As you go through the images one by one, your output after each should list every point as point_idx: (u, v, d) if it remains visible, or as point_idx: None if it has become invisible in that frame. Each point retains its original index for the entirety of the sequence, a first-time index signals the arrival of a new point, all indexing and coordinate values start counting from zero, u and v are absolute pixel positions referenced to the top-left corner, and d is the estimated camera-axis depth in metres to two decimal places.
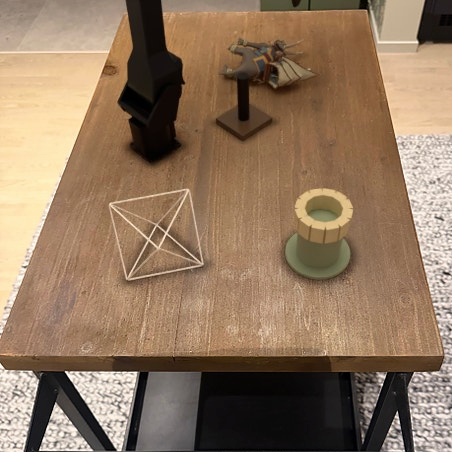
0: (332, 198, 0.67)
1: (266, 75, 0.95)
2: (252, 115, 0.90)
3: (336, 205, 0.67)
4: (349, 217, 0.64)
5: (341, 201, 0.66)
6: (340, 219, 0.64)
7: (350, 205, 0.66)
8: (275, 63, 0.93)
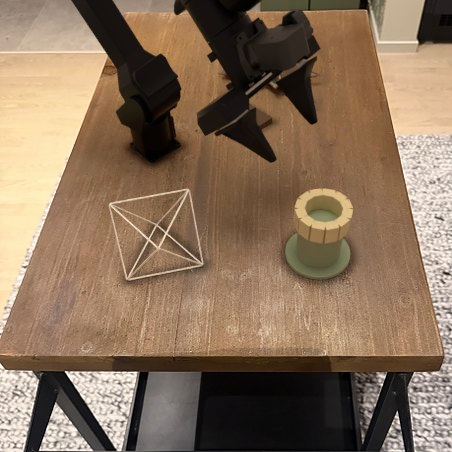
0: (332, 198, 0.67)
1: None
2: None
3: (336, 205, 0.67)
4: (349, 217, 0.64)
5: (341, 201, 0.66)
6: (340, 219, 0.64)
7: (350, 205, 0.66)
8: None
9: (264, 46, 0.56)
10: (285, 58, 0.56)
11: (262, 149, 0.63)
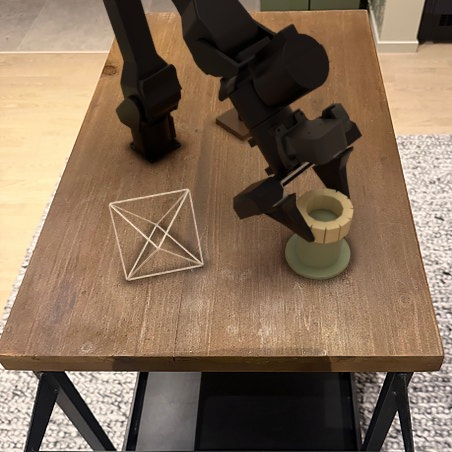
0: (332, 198, 0.67)
1: None
2: None
3: (336, 205, 0.67)
4: (349, 217, 0.64)
5: (342, 201, 0.66)
6: (340, 219, 0.64)
7: (350, 205, 0.66)
8: None
9: (301, 141, 0.57)
10: (320, 153, 0.57)
11: (301, 230, 0.64)
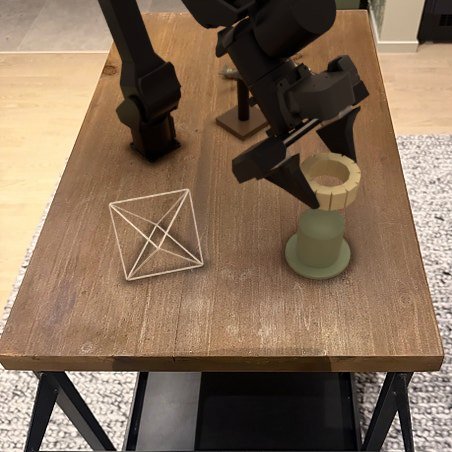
0: (338, 163, 0.62)
1: None
2: (252, 115, 0.90)
3: (342, 170, 0.63)
4: (357, 181, 0.60)
5: (348, 166, 0.62)
6: (347, 184, 0.60)
7: (358, 169, 0.61)
8: None
9: (305, 94, 0.53)
10: (326, 107, 0.52)
11: (304, 195, 0.60)
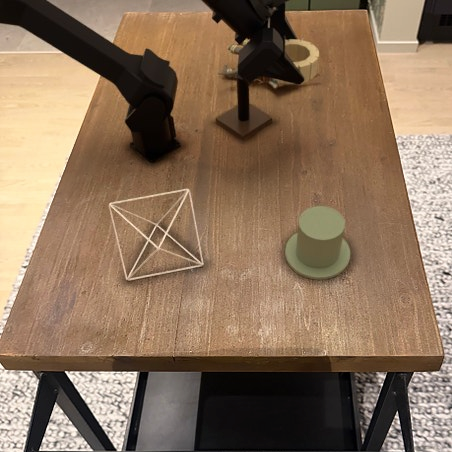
0: (289, 46, 0.75)
1: None
2: (252, 115, 0.90)
3: (295, 50, 0.75)
4: (316, 49, 0.74)
5: (299, 43, 0.75)
6: (312, 53, 0.73)
7: (308, 42, 0.75)
8: None
9: None
10: None
11: (293, 73, 0.71)
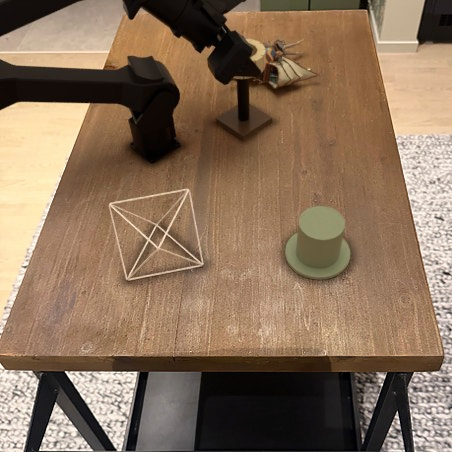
0: None
1: (266, 75, 0.95)
2: (252, 115, 0.90)
3: None
4: (259, 43, 0.81)
5: None
6: (258, 46, 0.81)
7: (248, 39, 0.82)
8: (275, 63, 0.93)
9: None
10: None
11: (253, 67, 0.78)
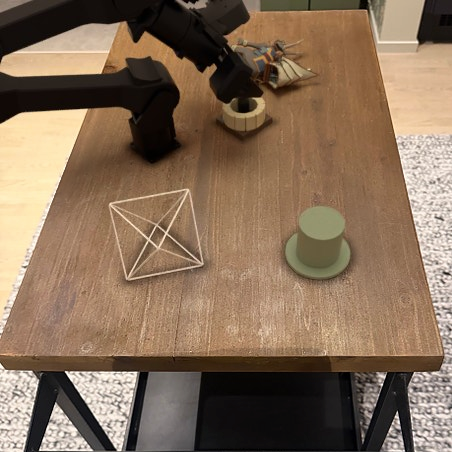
0: (236, 99, 0.90)
1: (266, 75, 0.95)
2: None
3: None
4: None
5: None
6: (258, 101, 0.88)
7: None
8: (275, 63, 0.93)
9: (229, 13, 0.73)
10: (246, 11, 0.74)
11: (256, 89, 0.80)
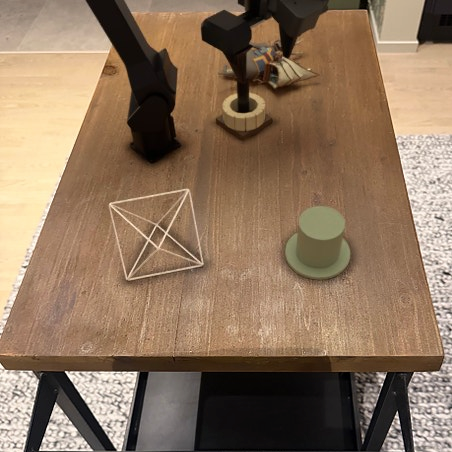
0: (236, 99, 0.90)
1: (266, 75, 0.95)
2: None
3: None
4: (259, 97, 0.89)
5: None
6: (258, 101, 0.88)
7: (249, 93, 0.90)
8: (275, 63, 0.93)
9: (286, 8, 0.64)
10: (295, 29, 0.65)
11: (239, 72, 0.73)
